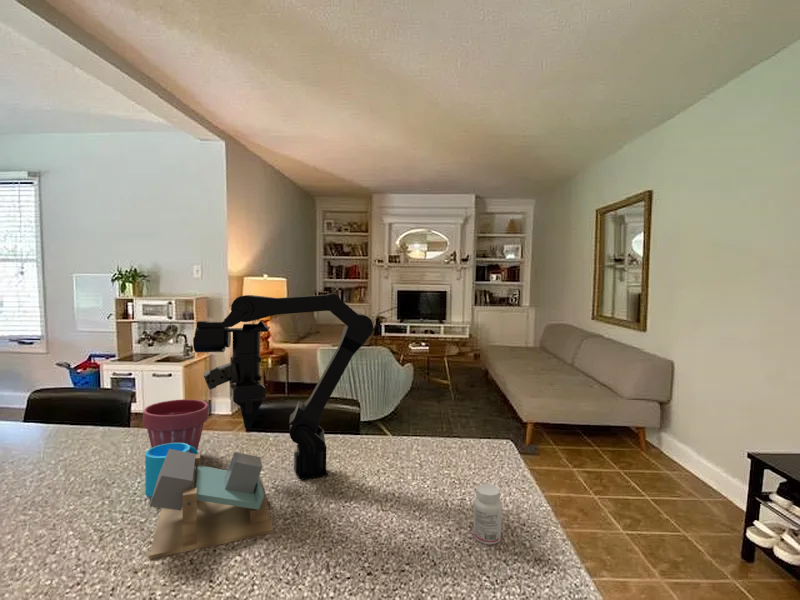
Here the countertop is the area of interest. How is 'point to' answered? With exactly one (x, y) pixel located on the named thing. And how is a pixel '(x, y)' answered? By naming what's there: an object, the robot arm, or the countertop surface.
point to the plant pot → (175, 422)
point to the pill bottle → (487, 514)
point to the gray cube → (243, 473)
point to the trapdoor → (198, 484)
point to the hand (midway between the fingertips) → (245, 421)
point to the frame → (206, 523)
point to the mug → (160, 462)
